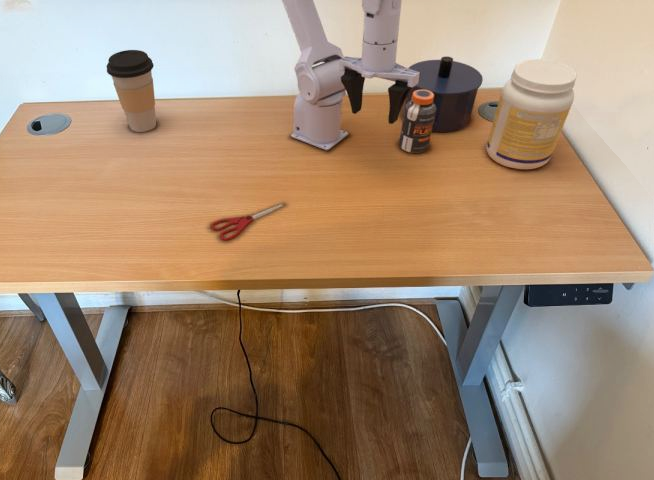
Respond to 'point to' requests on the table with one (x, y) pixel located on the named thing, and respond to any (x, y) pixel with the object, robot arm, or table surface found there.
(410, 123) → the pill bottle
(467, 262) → the table surface
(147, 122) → the coffee cup
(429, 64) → the pot lid
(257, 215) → the scissors
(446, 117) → the pot
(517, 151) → the supplement tub
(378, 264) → the table surface
